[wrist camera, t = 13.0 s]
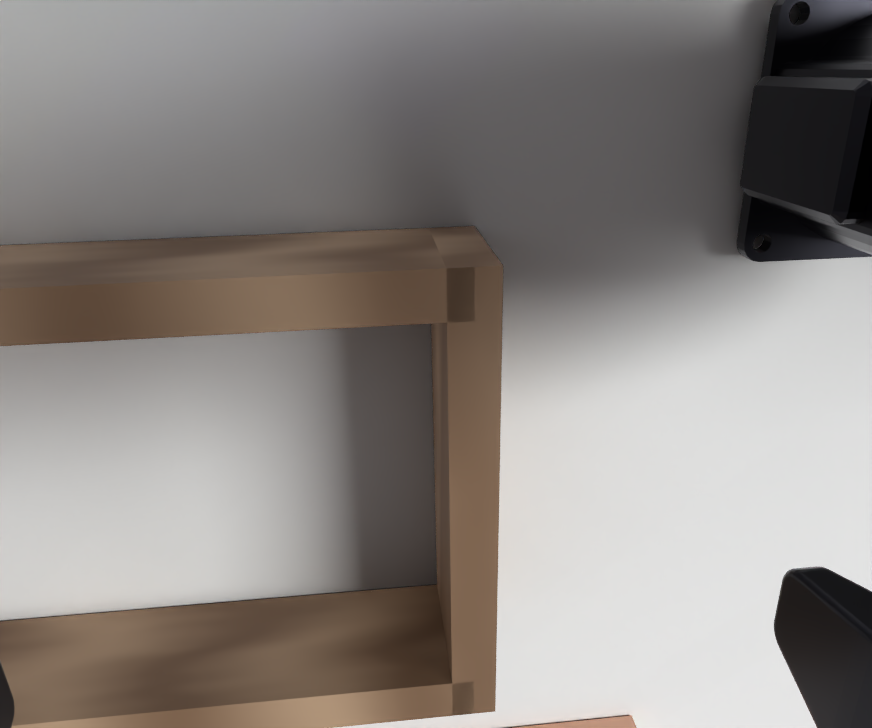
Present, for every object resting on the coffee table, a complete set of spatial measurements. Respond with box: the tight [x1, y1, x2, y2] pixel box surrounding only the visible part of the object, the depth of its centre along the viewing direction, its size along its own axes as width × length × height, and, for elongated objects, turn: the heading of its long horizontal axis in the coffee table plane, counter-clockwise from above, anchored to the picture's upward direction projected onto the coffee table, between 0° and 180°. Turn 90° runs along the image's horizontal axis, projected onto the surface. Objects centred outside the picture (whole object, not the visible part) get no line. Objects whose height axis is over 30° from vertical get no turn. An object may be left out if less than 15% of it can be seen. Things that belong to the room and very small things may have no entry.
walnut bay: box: [0, 226, 503, 728], centre depth 18 cm, size 17×13×4 cm
